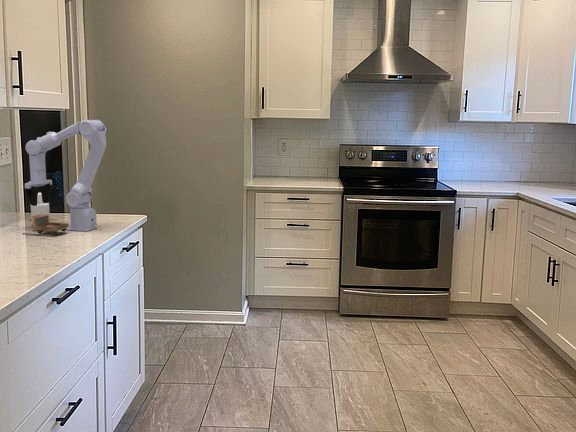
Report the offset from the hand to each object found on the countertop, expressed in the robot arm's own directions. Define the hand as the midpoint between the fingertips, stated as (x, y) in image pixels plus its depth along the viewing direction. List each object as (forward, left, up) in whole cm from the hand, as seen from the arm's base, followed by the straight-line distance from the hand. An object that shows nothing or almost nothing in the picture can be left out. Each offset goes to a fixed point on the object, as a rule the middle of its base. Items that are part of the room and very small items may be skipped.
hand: (39, 204), depth 231 cm
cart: (-12, +11, -9) cm, 19 cm away
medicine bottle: (+11, -15, -10) cm, 21 cm away
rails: (-8, +11, -9) cm, 17 cm away
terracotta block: (0, 0, -10) cm, 10 cm away
